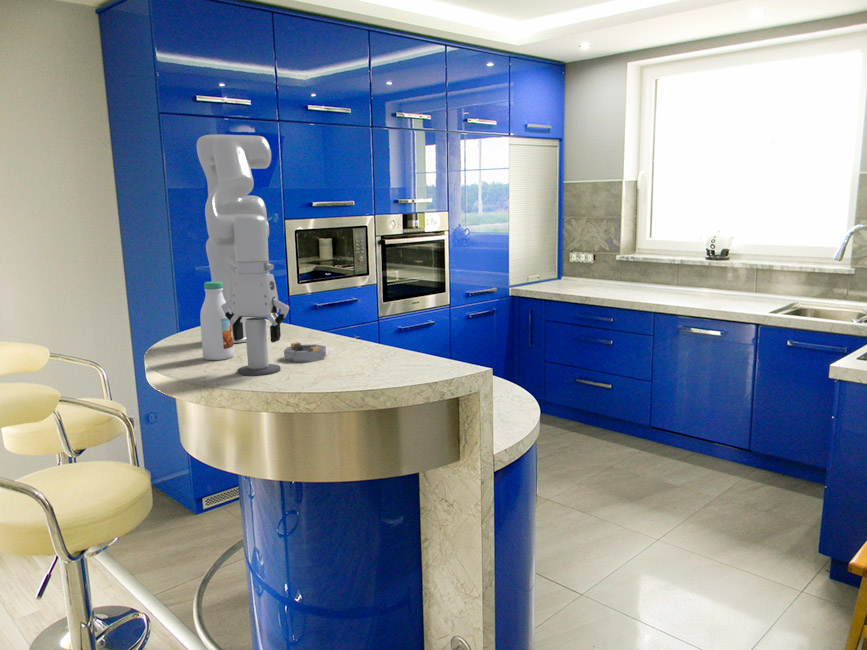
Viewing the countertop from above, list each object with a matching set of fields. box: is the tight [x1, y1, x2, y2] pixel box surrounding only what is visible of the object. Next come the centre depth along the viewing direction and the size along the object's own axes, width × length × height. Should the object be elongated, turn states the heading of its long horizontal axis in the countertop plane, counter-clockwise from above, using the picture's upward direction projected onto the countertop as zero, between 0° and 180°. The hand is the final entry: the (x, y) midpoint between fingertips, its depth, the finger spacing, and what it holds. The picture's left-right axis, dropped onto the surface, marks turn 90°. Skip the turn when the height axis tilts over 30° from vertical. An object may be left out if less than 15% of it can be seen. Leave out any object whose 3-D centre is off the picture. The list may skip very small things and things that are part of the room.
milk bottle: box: [199, 281, 235, 361], centre depth 178 cm, size 8×8×20 cm
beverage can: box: [245, 317, 270, 370], centre depth 163 cm, size 5×5×12 cm
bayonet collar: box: [283, 342, 327, 363], centre depth 178 cm, size 10×10×3 cm
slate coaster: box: [236, 363, 281, 377], centre depth 164 cm, size 10×10×1 cm
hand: (257, 340), depth 163 cm, fingers open, 9 cm apart
